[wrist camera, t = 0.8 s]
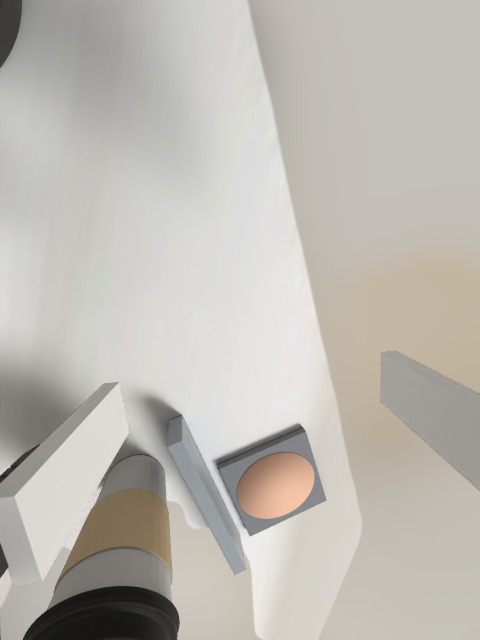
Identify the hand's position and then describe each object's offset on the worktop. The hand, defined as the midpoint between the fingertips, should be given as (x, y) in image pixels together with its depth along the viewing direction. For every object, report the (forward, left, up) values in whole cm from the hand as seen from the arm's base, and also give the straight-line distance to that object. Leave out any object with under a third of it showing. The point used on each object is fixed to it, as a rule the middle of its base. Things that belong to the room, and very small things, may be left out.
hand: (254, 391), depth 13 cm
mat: (+23, -1, -14) cm, 27 cm away
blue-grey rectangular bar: (+19, -8, -14) cm, 25 cm away
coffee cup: (+14, -15, -14) cm, 25 cm away
